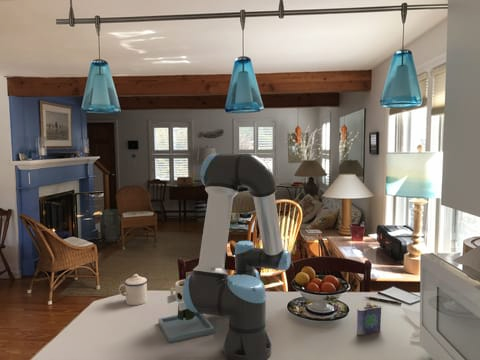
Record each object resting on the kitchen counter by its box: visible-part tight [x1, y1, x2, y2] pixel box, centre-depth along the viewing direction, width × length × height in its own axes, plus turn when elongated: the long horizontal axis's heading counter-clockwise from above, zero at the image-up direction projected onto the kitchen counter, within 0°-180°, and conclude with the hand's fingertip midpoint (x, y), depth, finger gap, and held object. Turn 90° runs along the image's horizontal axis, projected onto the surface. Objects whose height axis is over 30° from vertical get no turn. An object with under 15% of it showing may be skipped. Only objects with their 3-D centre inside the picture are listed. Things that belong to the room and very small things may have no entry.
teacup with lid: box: [118, 273, 148, 306], centre depth 164 cm, size 12×9×12 cm
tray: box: [158, 312, 216, 344], centre depth 140 cm, size 16×16×2 cm
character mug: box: [169, 279, 195, 320], centre depth 139 cm, size 11×7×13 cm, turn 86°
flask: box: [356, 301, 382, 336], centre depth 135 cm, size 9×3×11 cm, turn 109°
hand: (173, 302), depth 136 cm, fingers closed on character mug, 8 cm apart
